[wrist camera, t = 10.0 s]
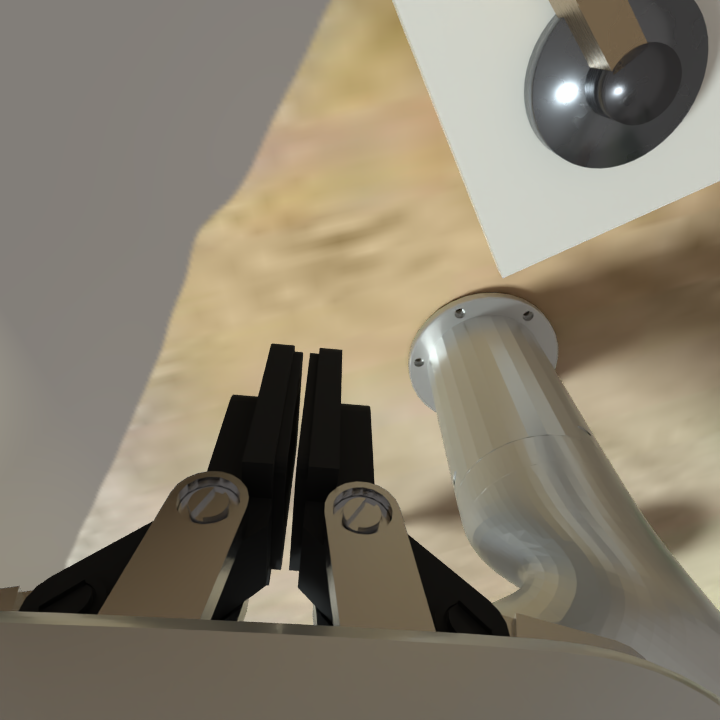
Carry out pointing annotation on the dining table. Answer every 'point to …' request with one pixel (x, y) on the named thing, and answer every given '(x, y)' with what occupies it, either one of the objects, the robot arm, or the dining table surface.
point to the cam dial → (614, 77)
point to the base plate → (522, 147)
